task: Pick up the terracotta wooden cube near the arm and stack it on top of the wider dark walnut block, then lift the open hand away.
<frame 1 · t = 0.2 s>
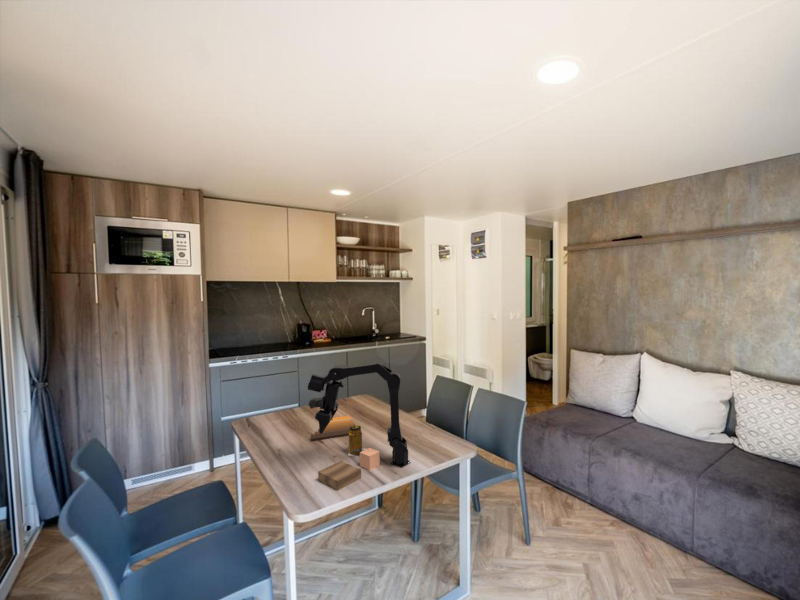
hand: (323, 429, 160), 15 cm above the table, tool pointing down, fingers open, 9 cm apart
walnut block: (339, 480, 147), on the table
pan flute: (331, 431, 202), on the table
condiment: (357, 452, 173), on the table
terracotta cube: (369, 465, 159), on the table
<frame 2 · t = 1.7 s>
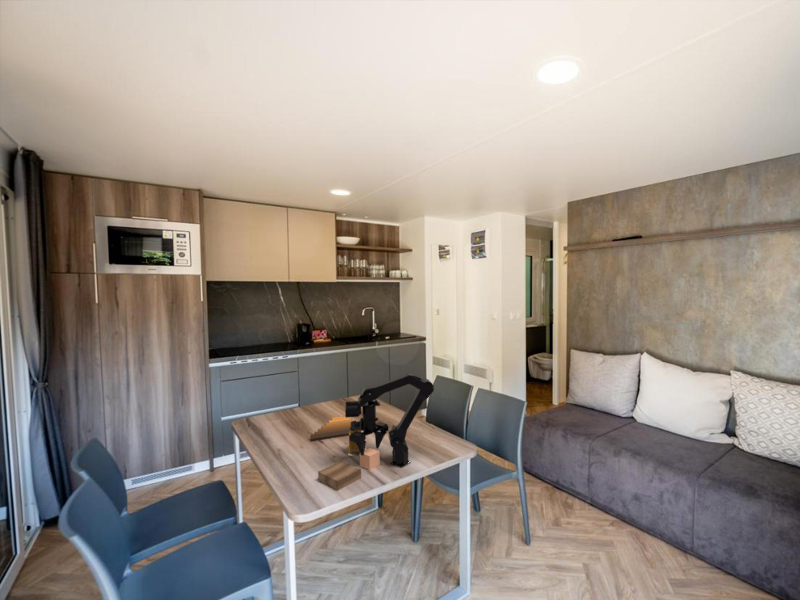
hand: (369, 451, 159), 6 cm above the table, tool pointing down, fingers open, 9 cm apart
nothing on the table moved.
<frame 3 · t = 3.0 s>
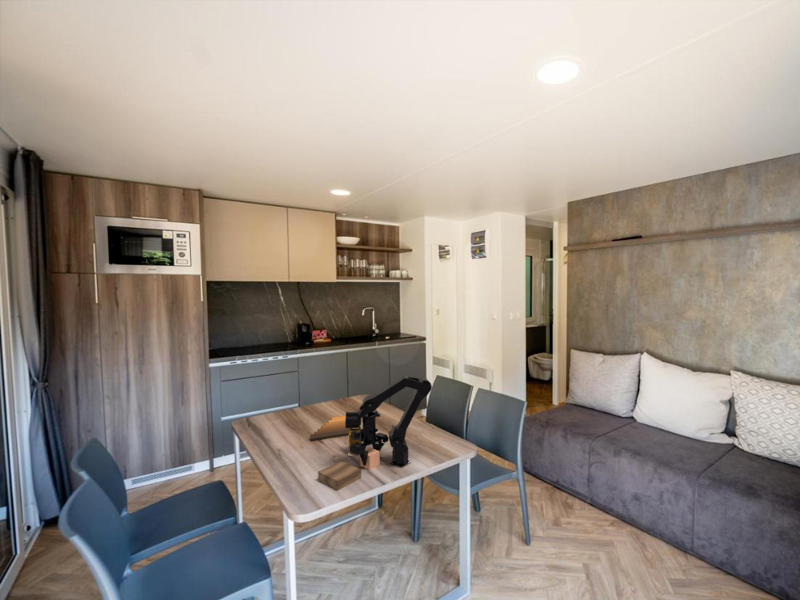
hand: (369, 462, 159), 1 cm above the table, tool pointing down, fingers closed on terracotta cube, 6 cm apart
terracotta cube: (369, 465, 159), on the table, touching gripper
everything else where it was.
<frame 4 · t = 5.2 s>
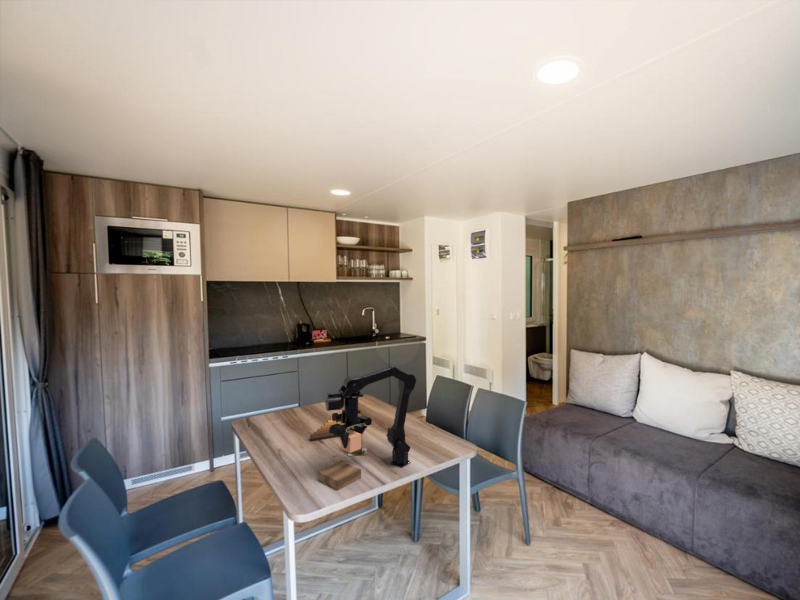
hand: (351, 445, 152), 12 cm above the table, tool pointing down, fingers closed on terracotta cube, 6 cm apart
terracotta cube: (350, 448, 152), point 10 cm above the table, touching gripper
everything else where it was.
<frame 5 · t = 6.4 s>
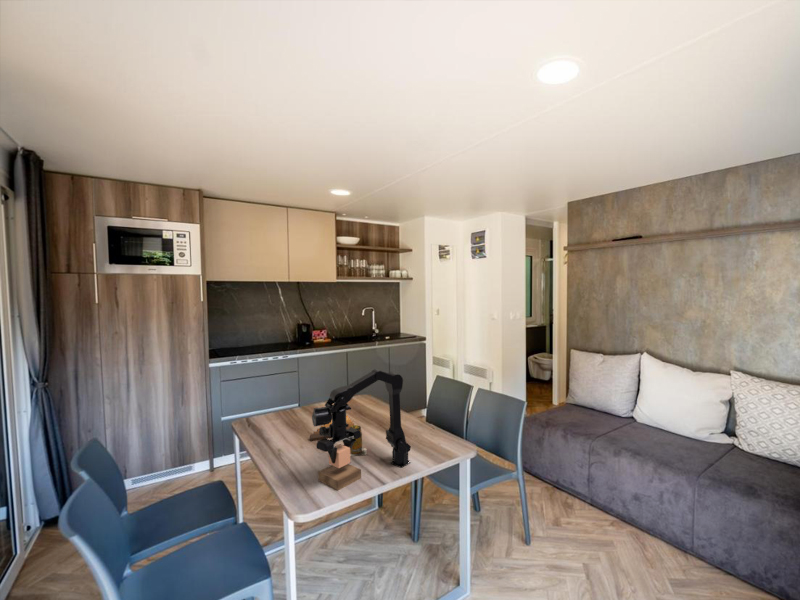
hand: (339, 460, 147), 8 cm above the table, tool pointing down, fingers closed on terracotta cube, 6 cm apart
terracotta cube: (339, 463, 147), point 6 cm above the table, touching gripper
everything else where it was.
when the fingers open (7 cm above the table, at t = 7.5 s): terracotta cube drops 2 cm, resting on walnut block.
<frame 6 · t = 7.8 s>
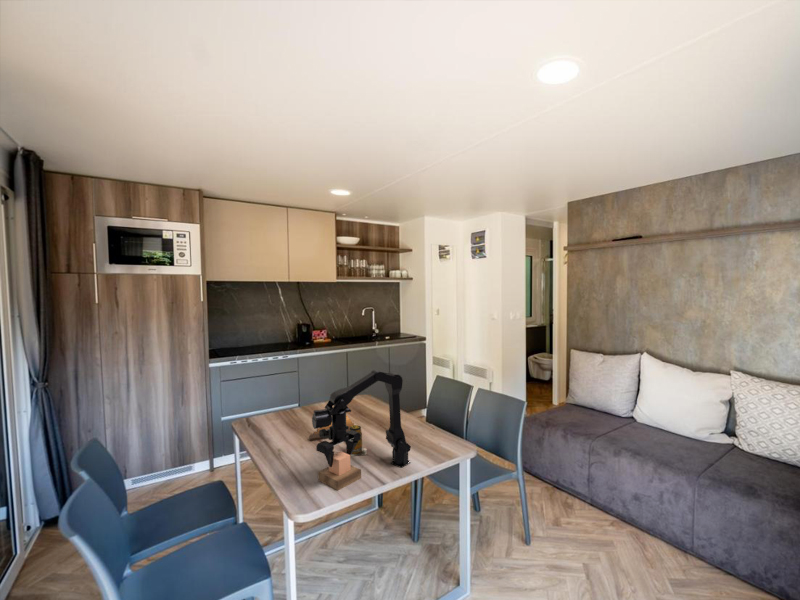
hand: (339, 462, 147), 7 cm above the table, tool pointing down, fingers open, 9 cm apart
walnut block: (339, 480, 147), on the table, touching terracotta cube
terracotta cube: (339, 470, 147), point 3 cm above the table, touching walnut block
everything else where it was.
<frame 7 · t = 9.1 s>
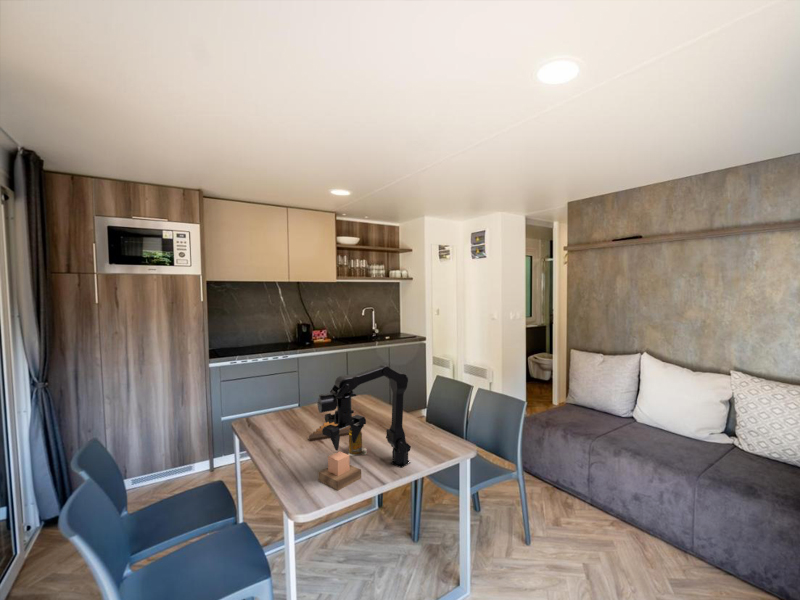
hand: (345, 446, 149), 13 cm above the table, tool pointing down, fingers open, 9 cm apart
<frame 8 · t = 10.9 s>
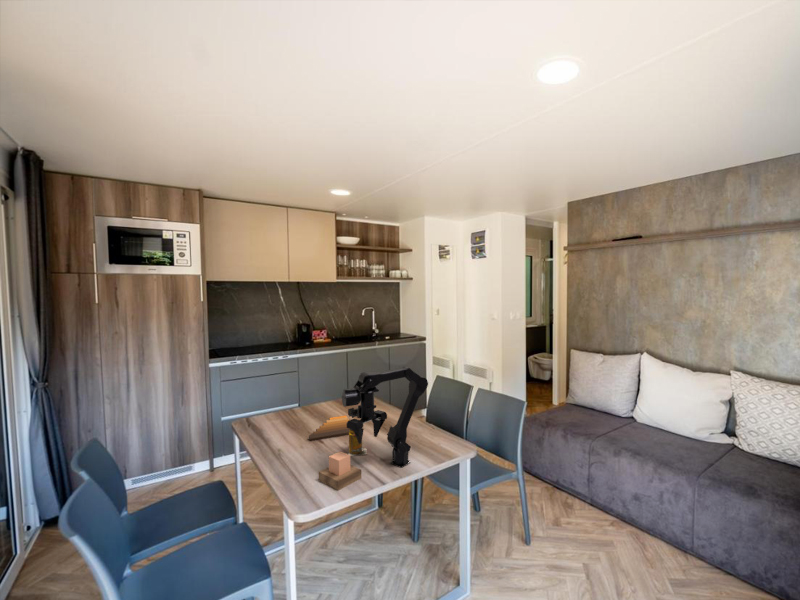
hand: (367, 440, 154), 13 cm above the table, tool pointing down, fingers open, 9 cm apart
at the end: terracotta cube 0.2 cm off-centre on the walnut block, point 4.0 cm above the walnut block's base; terracotta cube tilted 0°; terracotta cube touching walnut block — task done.
